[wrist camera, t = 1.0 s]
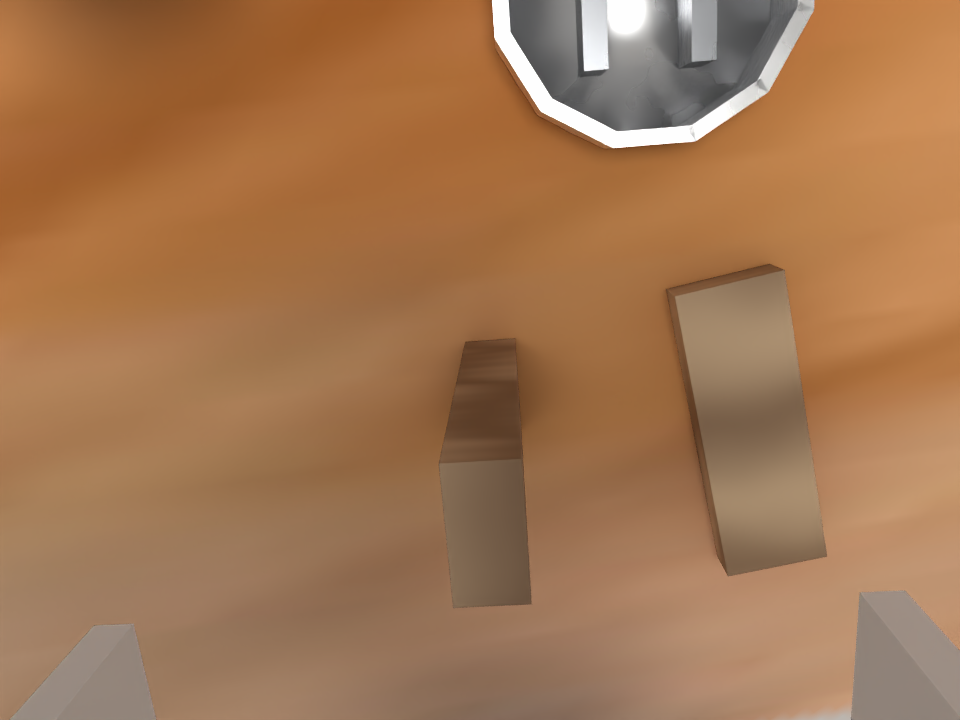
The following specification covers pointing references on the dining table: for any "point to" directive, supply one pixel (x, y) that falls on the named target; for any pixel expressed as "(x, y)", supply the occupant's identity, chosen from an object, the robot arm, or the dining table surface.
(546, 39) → the tin
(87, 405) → the dining table surface
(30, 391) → the dining table surface
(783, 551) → the tan rectangular slab
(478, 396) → the brown elongated block
